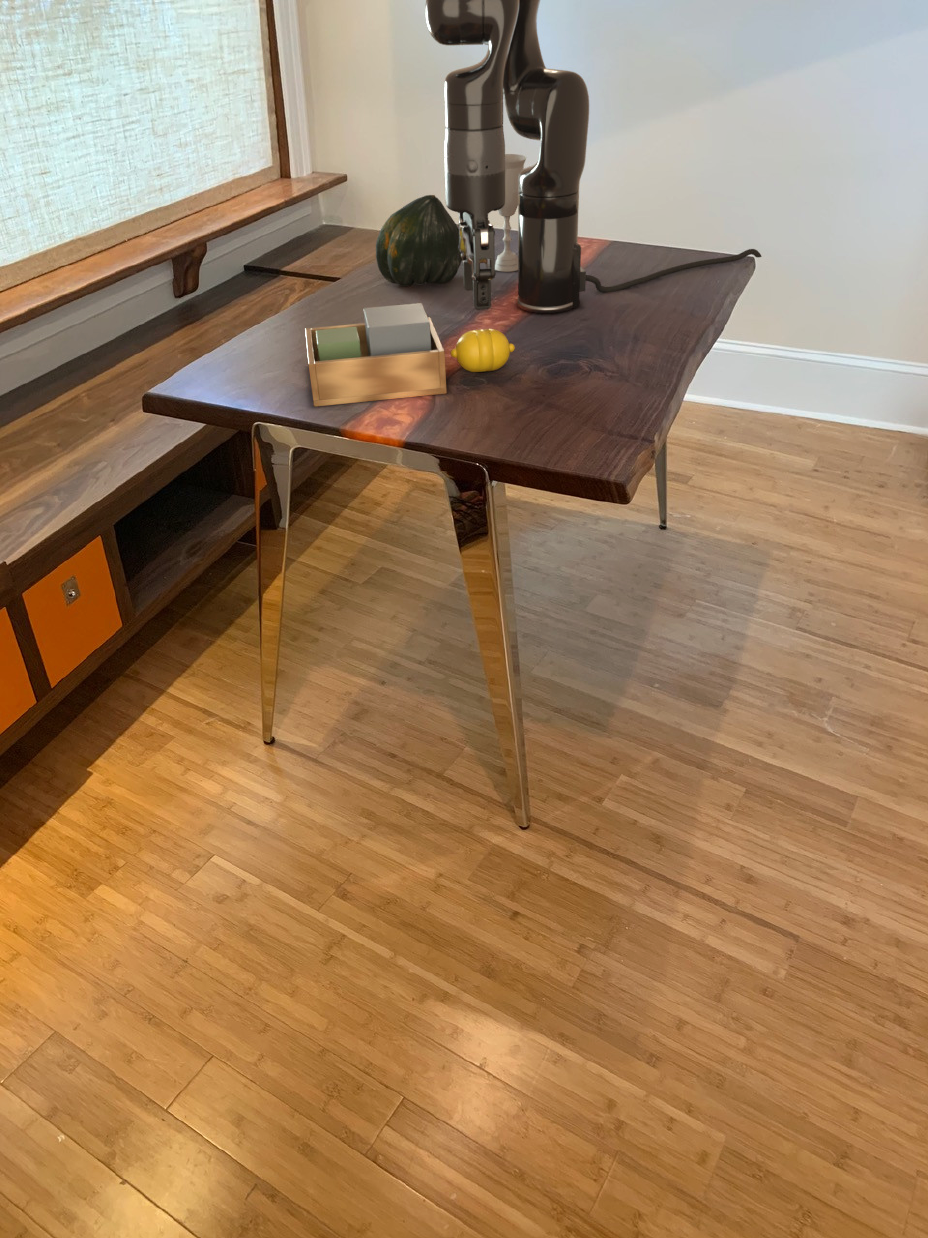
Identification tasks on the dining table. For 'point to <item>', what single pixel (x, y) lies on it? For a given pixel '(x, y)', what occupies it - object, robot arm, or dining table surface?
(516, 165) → the chalice
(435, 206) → the squash
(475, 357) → the lemon
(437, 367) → the crate
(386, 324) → the block grey
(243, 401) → the dining table surface
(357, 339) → the block sage
